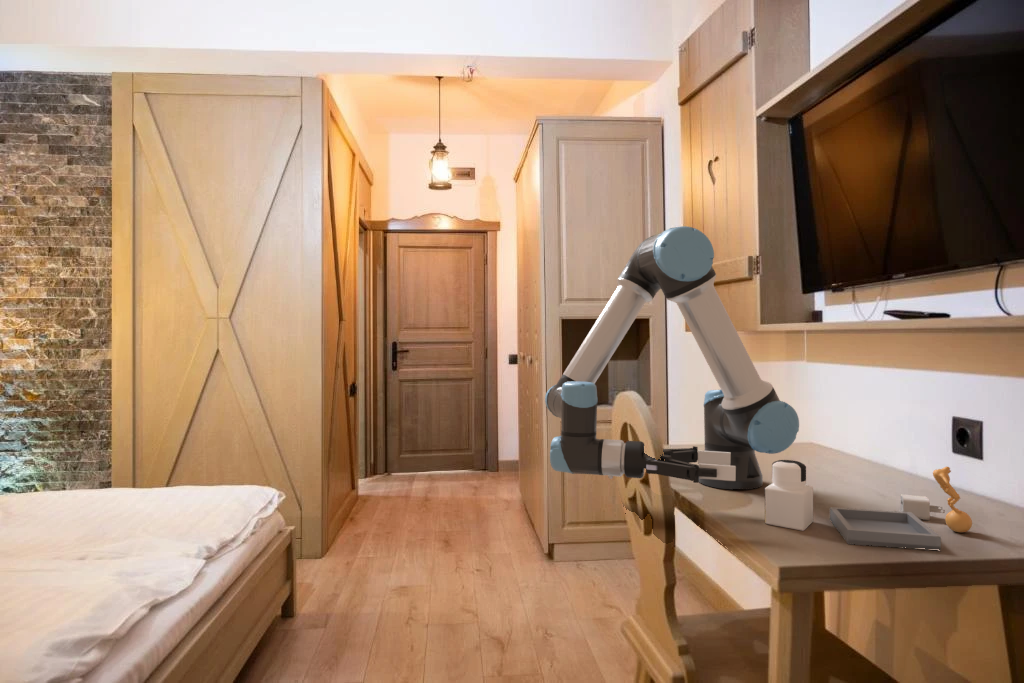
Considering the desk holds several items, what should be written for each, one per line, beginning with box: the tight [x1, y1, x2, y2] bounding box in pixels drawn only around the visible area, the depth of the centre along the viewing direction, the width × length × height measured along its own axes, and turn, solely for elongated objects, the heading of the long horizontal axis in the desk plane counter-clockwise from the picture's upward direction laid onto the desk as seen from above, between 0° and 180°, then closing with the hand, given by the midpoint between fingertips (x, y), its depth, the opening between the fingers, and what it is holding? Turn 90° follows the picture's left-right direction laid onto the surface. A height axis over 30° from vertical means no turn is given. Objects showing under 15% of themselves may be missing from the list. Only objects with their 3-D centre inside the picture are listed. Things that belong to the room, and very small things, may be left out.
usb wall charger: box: [899, 494, 946, 521], centre depth 120 cm, size 4×7×4 cm, turn 65°
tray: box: [829, 507, 942, 551], centre depth 110 cm, size 14×14×2 cm
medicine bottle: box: [764, 459, 814, 531], centre depth 117 cm, size 7×7×12 cm
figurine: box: [932, 466, 973, 533], centre depth 111 cm, size 8×6×12 cm
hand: (733, 465), depth 120 cm, fingers open, 13 cm apart
